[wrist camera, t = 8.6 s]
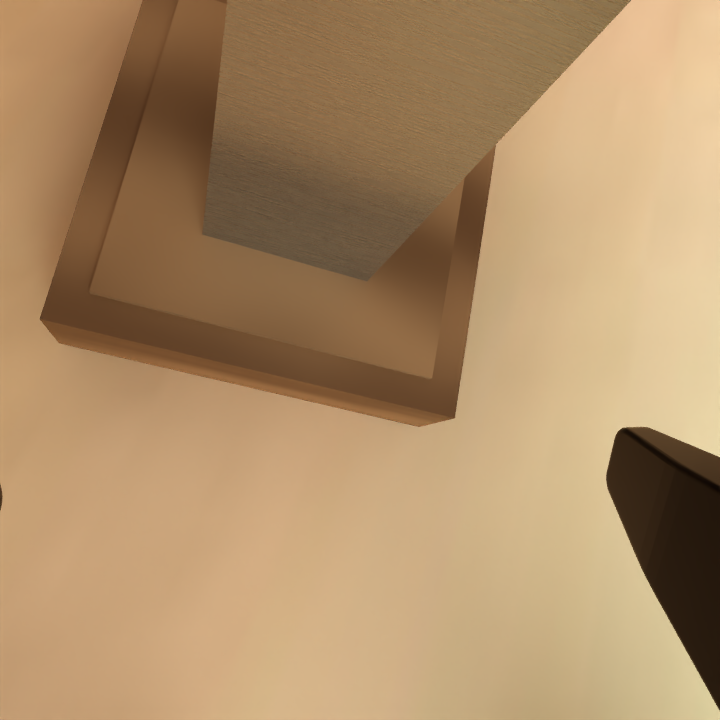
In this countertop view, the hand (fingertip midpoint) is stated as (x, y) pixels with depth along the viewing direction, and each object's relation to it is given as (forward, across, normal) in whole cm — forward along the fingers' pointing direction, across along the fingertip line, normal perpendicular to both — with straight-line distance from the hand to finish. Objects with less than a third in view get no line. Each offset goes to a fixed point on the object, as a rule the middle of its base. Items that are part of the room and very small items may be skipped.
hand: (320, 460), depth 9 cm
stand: (+15, 0, 0) cm, 15 cm away
